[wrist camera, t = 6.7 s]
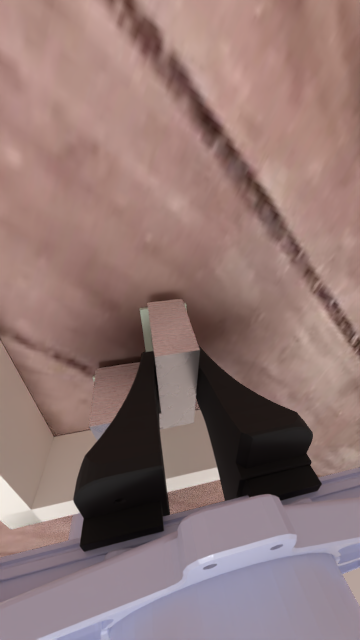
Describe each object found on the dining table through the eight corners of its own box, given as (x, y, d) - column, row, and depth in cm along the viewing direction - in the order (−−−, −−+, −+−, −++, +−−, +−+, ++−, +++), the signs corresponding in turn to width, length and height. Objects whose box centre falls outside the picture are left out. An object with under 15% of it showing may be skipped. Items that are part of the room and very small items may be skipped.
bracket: (72, 311, 12) (56, 371, 9) (182, 298, 13) (199, 350, 10) (102, 385, 17) (97, 441, 14) (181, 372, 17) (193, 422, 14)
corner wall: (233, 416, 22) (257, 470, 18) (36, 454, 19) (10, 529, 15) (256, 250, 14) (312, 278, 9) (-80, 279, 11) (-209, 335, 7)
